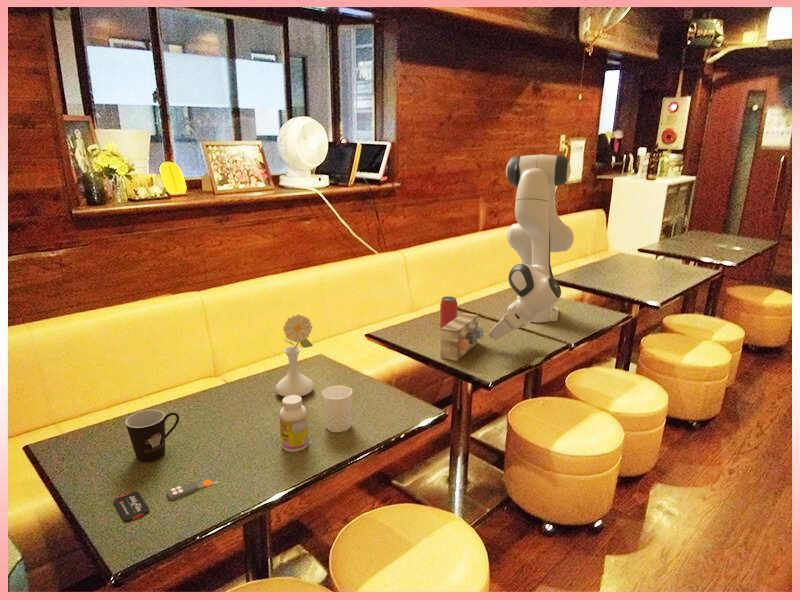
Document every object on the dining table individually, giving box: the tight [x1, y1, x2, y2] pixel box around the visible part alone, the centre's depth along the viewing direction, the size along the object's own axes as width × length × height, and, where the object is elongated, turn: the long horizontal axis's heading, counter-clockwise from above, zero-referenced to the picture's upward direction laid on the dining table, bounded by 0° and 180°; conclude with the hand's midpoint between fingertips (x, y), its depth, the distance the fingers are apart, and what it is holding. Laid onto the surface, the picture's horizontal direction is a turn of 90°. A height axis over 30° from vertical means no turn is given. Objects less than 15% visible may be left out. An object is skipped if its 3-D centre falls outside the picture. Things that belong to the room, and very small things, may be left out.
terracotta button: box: [458, 339, 469, 351], centre depth 190 cm, size 3×3×3 cm
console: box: [440, 312, 479, 362], centre depth 197 cm, size 19×6×11 cm, turn 151°
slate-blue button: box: [473, 326, 484, 339], centre depth 200 cm, size 3×3×3 cm
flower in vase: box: [274, 313, 315, 398], centre depth 163 cm, size 13×11×25 cm
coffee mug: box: [124, 409, 180, 464], centre depth 135 cm, size 12×9×10 cm
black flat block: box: [113, 491, 150, 523], centre depth 117 cm, size 10×1×5 cm
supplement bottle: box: [278, 395, 309, 453], centre depth 138 cm, size 7×7×13 cm
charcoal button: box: [466, 333, 476, 345], centre depth 195 cm, size 3×3×3 cm
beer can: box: [439, 296, 458, 329], centre depth 218 cm, size 7×7×12 cm
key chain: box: [166, 479, 220, 501], centre depth 124 cm, size 13×4×2 cm, turn 125°
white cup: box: [321, 384, 353, 433], centre depth 147 cm, size 8×8×10 cm
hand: (491, 335), depth 198 cm, fingers closed
